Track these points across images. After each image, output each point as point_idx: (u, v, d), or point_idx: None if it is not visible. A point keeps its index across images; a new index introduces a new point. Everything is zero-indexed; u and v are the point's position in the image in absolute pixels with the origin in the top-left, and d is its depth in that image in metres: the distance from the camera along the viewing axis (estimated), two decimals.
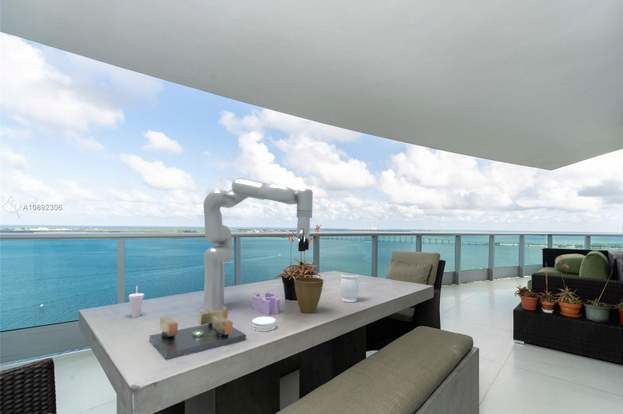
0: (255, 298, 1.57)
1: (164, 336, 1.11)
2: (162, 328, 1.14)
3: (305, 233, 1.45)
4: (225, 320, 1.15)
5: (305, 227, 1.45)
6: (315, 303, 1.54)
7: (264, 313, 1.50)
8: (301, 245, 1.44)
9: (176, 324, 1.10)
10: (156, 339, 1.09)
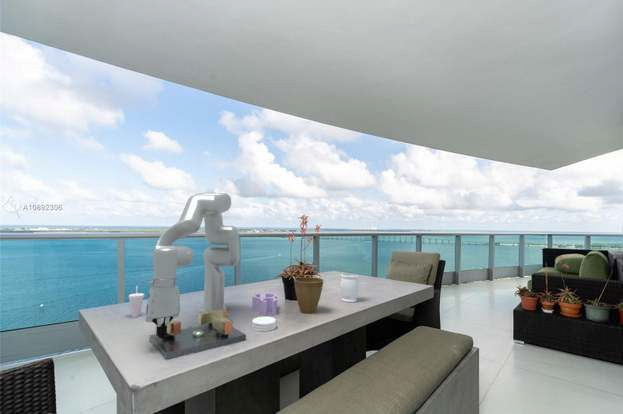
0: (254, 298, 1.57)
1: (166, 336, 1.11)
2: None
3: None
4: (225, 320, 1.15)
5: None
6: (315, 303, 1.54)
7: (261, 313, 1.49)
8: None
9: (180, 323, 1.11)
10: (156, 339, 1.09)
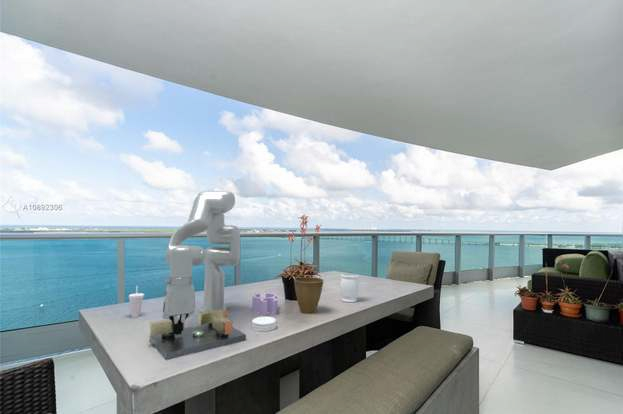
0: (254, 298, 1.56)
1: (173, 335, 1.12)
2: (161, 332, 1.10)
3: None
4: (225, 320, 1.15)
5: None
6: (315, 303, 1.54)
7: (261, 313, 1.49)
8: None
9: None
10: (156, 339, 1.09)
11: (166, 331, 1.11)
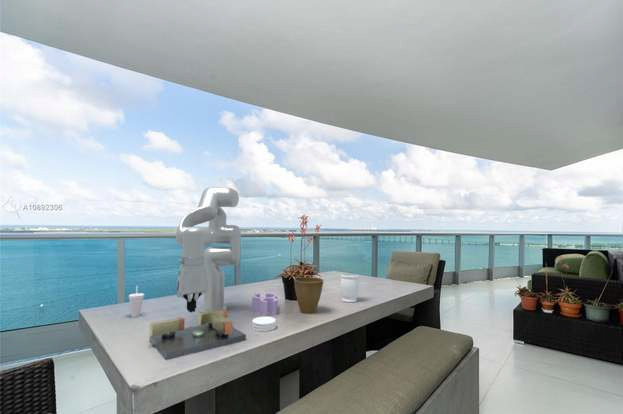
0: (254, 298, 1.56)
1: (174, 334, 1.12)
2: (162, 332, 1.10)
3: None
4: (225, 320, 1.15)
5: None
6: (315, 303, 1.54)
7: (262, 313, 1.49)
8: None
9: None
10: (156, 339, 1.09)
11: (167, 331, 1.11)
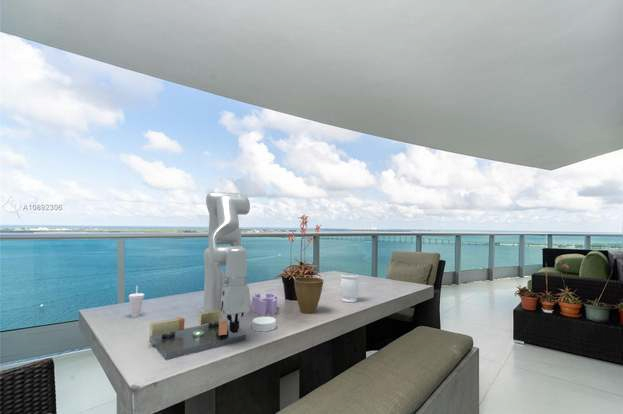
0: (254, 298, 1.56)
1: (174, 334, 1.12)
2: (162, 332, 1.10)
3: None
4: (223, 320, 1.14)
5: None
6: (315, 303, 1.54)
7: (260, 314, 1.48)
8: None
9: None
10: (156, 339, 1.09)
11: (167, 331, 1.11)
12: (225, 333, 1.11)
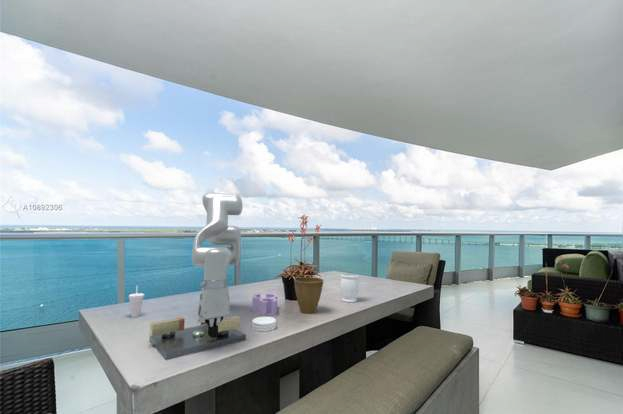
0: (254, 298, 1.56)
1: (174, 334, 1.12)
2: (162, 332, 1.10)
3: None
4: None
5: None
6: (315, 303, 1.54)
7: (261, 314, 1.48)
8: None
9: None
10: (156, 339, 1.09)
11: (167, 331, 1.11)
12: None
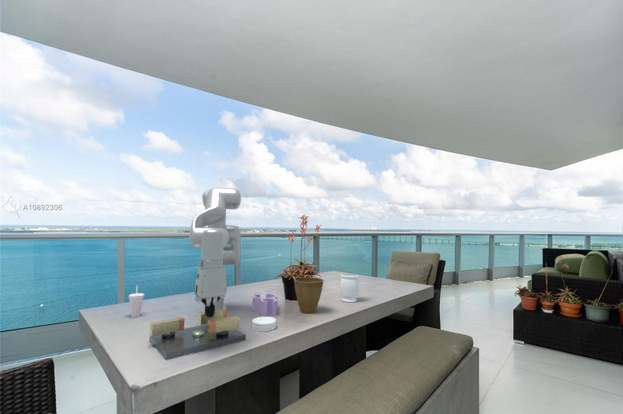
0: (254, 298, 1.56)
1: (174, 334, 1.12)
2: (162, 332, 1.10)
3: None
4: (217, 320, 1.15)
5: None
6: (315, 303, 1.54)
7: (261, 314, 1.48)
8: None
9: None
10: (156, 339, 1.09)
11: (167, 331, 1.11)
12: (209, 332, 1.12)
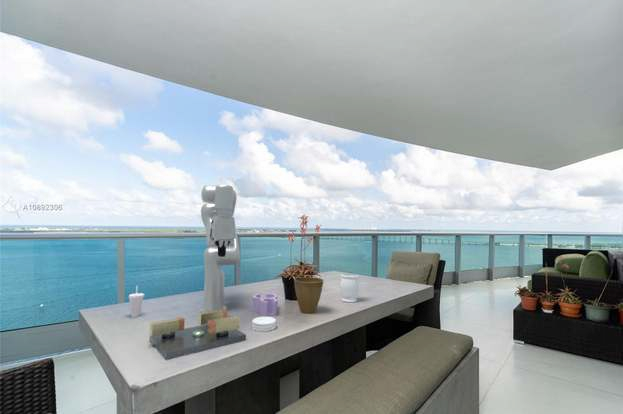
0: (254, 299, 1.55)
1: (174, 334, 1.12)
2: (162, 332, 1.10)
3: None
4: (217, 320, 1.15)
5: None
6: (315, 303, 1.54)
7: (261, 314, 1.48)
8: None
9: None
10: (156, 339, 1.09)
11: (167, 331, 1.11)
12: (209, 332, 1.12)
